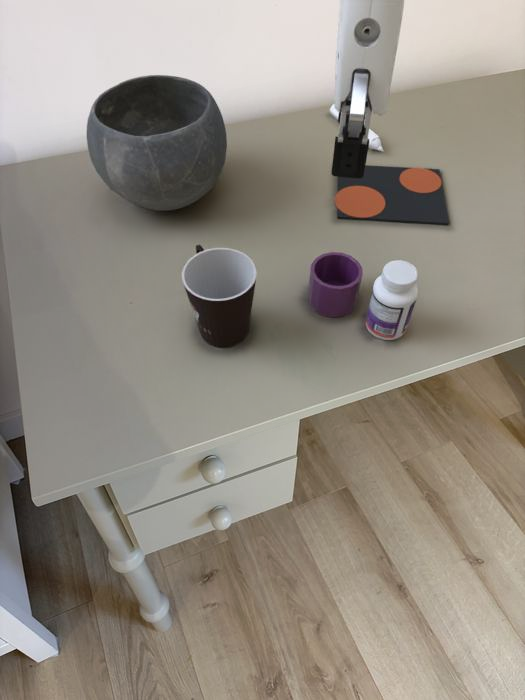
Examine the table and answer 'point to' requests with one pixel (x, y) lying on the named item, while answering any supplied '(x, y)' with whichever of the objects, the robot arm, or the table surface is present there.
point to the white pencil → (373, 138)
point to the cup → (334, 284)
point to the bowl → (157, 141)
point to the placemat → (393, 196)
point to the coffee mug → (220, 294)
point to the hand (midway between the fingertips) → (349, 148)
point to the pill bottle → (392, 300)
